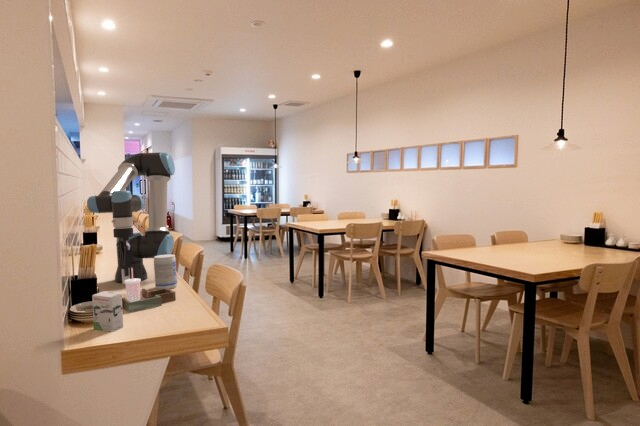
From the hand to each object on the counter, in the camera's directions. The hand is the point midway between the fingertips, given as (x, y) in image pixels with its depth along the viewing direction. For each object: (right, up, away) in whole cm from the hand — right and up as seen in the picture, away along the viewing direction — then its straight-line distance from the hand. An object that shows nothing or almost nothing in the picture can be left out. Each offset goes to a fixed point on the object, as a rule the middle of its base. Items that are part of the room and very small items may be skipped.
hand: (126, 283), depth 181 cm
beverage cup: (+5, -7, -5) cm, 10 cm away
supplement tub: (+11, -5, +18) cm, 21 cm away
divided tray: (+8, -7, -8) cm, 13 cm away
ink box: (+11, -9, -37) cm, 40 cm away
